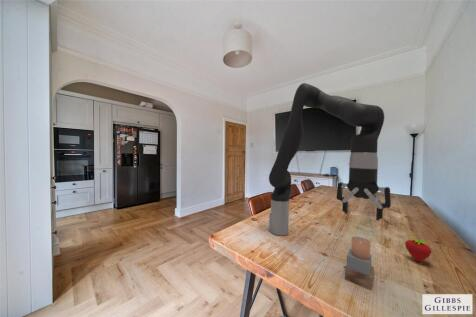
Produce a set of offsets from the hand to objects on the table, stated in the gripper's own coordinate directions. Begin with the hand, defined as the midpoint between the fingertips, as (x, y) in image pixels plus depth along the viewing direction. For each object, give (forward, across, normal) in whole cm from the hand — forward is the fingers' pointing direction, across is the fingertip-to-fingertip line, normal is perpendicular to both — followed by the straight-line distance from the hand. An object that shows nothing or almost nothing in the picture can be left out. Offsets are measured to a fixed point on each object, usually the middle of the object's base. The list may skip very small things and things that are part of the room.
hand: (361, 216), depth 58 cm
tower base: (+21, 0, 0) cm, 21 cm away
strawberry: (+21, -15, -27) cm, 37 cm away
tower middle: (+17, 0, 0) cm, 17 cm away
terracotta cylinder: (+13, 0, 0) cm, 13 cm away
